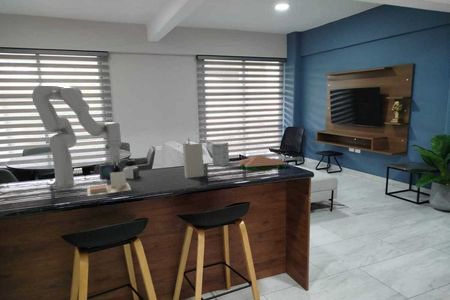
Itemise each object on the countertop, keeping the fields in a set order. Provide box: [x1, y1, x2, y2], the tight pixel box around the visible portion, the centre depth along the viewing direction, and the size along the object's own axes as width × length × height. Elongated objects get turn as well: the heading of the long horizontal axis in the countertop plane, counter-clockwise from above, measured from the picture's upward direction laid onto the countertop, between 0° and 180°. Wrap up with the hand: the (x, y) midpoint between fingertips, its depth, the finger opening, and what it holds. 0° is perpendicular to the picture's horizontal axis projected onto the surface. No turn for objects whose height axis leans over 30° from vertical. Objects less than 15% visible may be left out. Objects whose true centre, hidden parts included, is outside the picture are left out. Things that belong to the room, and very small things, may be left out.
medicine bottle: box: [122, 159, 140, 180], centre depth 193 cm, size 7×7×12 cm
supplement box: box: [211, 141, 230, 167], centre depth 228 cm, size 10×9×17 cm
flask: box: [98, 161, 114, 180], centre depth 197 cm, size 9×3×11 cm, turn 110°
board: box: [86, 182, 132, 197], centre depth 167 cm, size 22×18×1 cm
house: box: [237, 155, 288, 171], centre depth 218 cm, size 23×33×8 cm
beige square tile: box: [109, 170, 127, 187], centre depth 172 cm, size 8×2×8 cm, turn 114°
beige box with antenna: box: [182, 137, 205, 179], centre depth 194 cm, size 8×12×26 cm
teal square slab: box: [89, 184, 107, 194], centre depth 164 cm, size 8×2×8 cm
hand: (117, 174), depth 177 cm, fingers closed
